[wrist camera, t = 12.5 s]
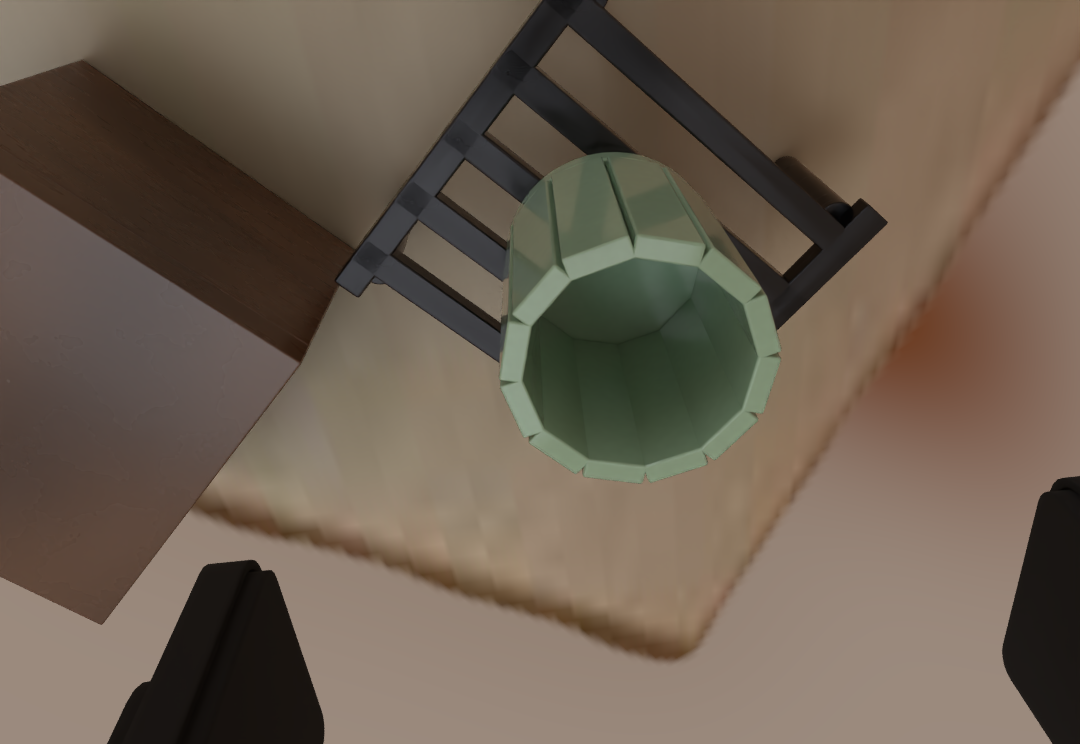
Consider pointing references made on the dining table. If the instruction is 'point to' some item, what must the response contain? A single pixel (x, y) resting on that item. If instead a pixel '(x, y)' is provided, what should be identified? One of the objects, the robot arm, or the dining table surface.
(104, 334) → the shelf
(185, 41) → the dining table surface
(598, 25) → the rack
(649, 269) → the cup
